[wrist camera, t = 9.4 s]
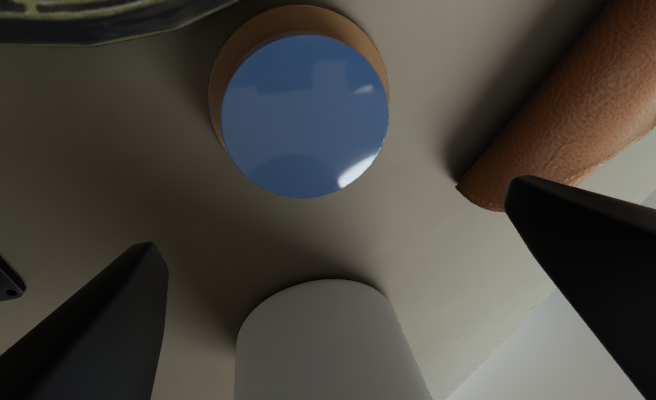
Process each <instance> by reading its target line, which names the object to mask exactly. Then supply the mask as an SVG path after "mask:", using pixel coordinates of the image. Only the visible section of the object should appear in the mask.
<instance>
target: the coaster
mask: <svg viewBox="0 0 656 400" xmlns="http://www.w3.org/2000/svg"><path fill="white" fill-rule="evenodd" d="M293 30H311V31H318V32H322V33H326V34H329V35H331V36H334V37H336V38H338V39H340V40H342V41H343V42H345V43H346V44H348V45H350V46H351V47H353V48H354V49H356V50H357V51H358V52H359V53H361V54H362V55H363V56H364V57H365V58H366V59H367V60H368V61H369V62H370V63H371V65H372V66H373V67H374V69H375V70H376V72H377V73H378V75H379V77H380V79H381V81H382V83H383V85H384V89H385V92H386V95H387V101H388V103H389V85H388V79H387V73H386V70H385V67H384V63H383V61H382V59H381V56H380V54H379V52H378V50H377V49H376V47H375V46H374V44H373V42H372V41H371V40H370V39H369V37H368V36H367V35H366V34H365V33H364V32H363V31H362V30H361V29H360V28H359V27H358V26H357V25H356V24H354V23H353V22H352V21H350V20H349V19H347V18H346V17H344V16H342V15H340V14H338V13H336V12H334V11H331V10H329V9H325V8H322V7H318V6H312V5H305V4H295V5H285V6H279V7H275V8H272V9H269V10H266V11H263V12H261V13H259V14H258V15H256V16H254V17H252V18H250V19H249V20H248V21H246V22H245V23H243V24H242V25H241V26H240V27H239V28H238V29H237V30H236V31H235V32H234V33H233V34H232V35H231V36H230V37H229V38H228V40H227V41H226V42H225V44H224V45H223V47H222V48H221V50H220V52H219V54H218V56H217V58H216V60H215V63H214V65H213V68H212V71H211V75H210V80H209V85H208V106H209V113H210V118H211V122H212V125H213V128H214V130H215V133H216V135H217V137H218V139H219V141H220V143H221V145H222V146H223V147H224V149H225V150H226V152H227V149H226V146H225V144H224V141H223V137H222V132H221V122H220V115H221V105H222V101H223V96H224V92H225V89H226V85H227V83H228V80H229V77H230V75H231V73H232V72H233V70H234V68H235V66H236V65H237V64H238V62H239V61H240V60H241V58H242V57H243V56H244V55H245V54H246V53H247V52H248V51H249V50H250V49H251V48H253V47H254V46H255V45H257V44H258V43H260V42H261V41H263V40H265V39H267V38H269V37H271V36H274V35H276V34H279V33H282V32H288V31H293ZM227 153H228V152H227ZM228 154H229V153H228Z"/></svg>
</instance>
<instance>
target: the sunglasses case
mask: <svg viewBox="0 0 656 400" xmlns="http://www.w3.org/2000/svg"><path fill="white" fill-rule="evenodd" d="M655 126H656V0H609V1H608V3H607V4H606V5H605V6H604V7H603V8H602V10H601V11H600V12H599V13H598V15H597V16H596V17H595V18H594V20H593V21H592V22H591V23H590V24H589V26H588V27H587V28H586V29H585V30H584V31H583V33H582V34H581V35H580V36H579V37H578V39H577V40H576V41H575V42H574V43H573V45H572V46H571V47H570V48H569V50H568V51H567V52H566V53H565V55H564V56H563V57H562V59H561V60H560V61H559V62H558V64H557V65H556V66H555V68H554V69H553V70H552V71H551V73H550V74H549V75H548V77H547V78H546V79H545V80H544V82H543V83H542V84H541V85H540V86H539V87H538V88H537V89H536V90H535V91H534V93H533V94H532V95H531V96H530V97H529V98H528V100H527V101H526V102H525V103H524V104H523V106H522V107H521V108H520V109H519V110H518V112H517V113H516V114H515V115H514V117H513V118H512V119H511V120H510V122H509V123H508V124H507V125H506V126H505V128H504V129H503V130H502V131H501V133H500V134H499V135H498V136H497V137H496V139H495V140H494V141H493V142H492V143H491V144H490V145H489V147H488V148H487V149H486V150H485V151H484V152H483V154H482V155H481V156H480V157H479V158H478V160H477V161H476V162H475V163H474V165H473V166H472V167H471V168H470V169H469V170H468V171H467V173H466V174H465V175H464V176H463V177H462V179H461V180H460V182H459V183H458V185H456V186H455V188H456V189H457V190H458V191H459V192H460V193H461V194H462V195H463V196H464V197H466V198H467V199H468V200H469V201H470V202H472V203H473V204H476V205H478V206H479V207H481V208H484V209H487V210H491V211H497V212H505V210H504V200H505V197H506V193H507V190H508V187H509V183H510V181H511V180H512V179H513V178H514V177H518V176H524V175H532V176H536V177H539V178H543V179H547V180H550V181H554V182H558V183H561V184H565V185H569V186H572V187H575V186H576V185H578V184H579V183H580V182H581V181H582V180H583V179H585V178H586V177H587V176H588V175H590V174H591V173H592V172H593V171H594V170H595V169H597V168H598V167H599V166H600V165H602V164H604V163H605V162H606V161H609V160H610V159H611V158H613V157H614V156H616V155H617V154H619V153H620V152H622V151H623V150H624V149H625V148H627V147H628V146H630V145H631V144H632V143H634V142H635V141H638V140H640V139H641V138H642V137H644V136H645V135H646V134H648V133H649V132H650V131H651V130H652V129H653V128H654V127H655Z"/></svg>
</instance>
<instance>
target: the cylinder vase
mask: <svg viewBox="0 0 656 400" xmlns="http://www.w3.org/2000/svg"><path fill="white" fill-rule="evenodd" d="M234 400H432V398H431V395H430V393H429V391H428V388H427V386H426V384H425V381H424V379H423V377H422V374H421V372H420V370H419V367H418V365H417V363H416V360H415V358H414V356H413V354H412V351H411V349H410V347H409V344H408V342H407V340H406V337H405V335H404V333H403V330H402V328H401V326H400V323H399V321H398V319H397V316H396V314H395V312H394V309H393V307H392V305H391V304H390V302H389V301H388V300H387V299H386V297H385V296H384V295H382V294H381V293H380V292H379V291H377V290H376V289H374V288H372V287H370V286H368V285H365V284H363V283H359V282H355V281H350V280H342V279H325V280H316V281H310V282H306V283H302V284H298V285H295V286H292V287H289V288H287V289H285V290H282V291H280V292H278V293H276V294H274V295H273V296H271V297H269V298H268V299H266V300H265V301H263V302H262V303H261V304H260V305H258V306H257V307H256V308H255V309H254V310H253V311H252V312H251V313H250V314H249V316H248V317H247V318H246V320H245V321H244V323H243V324H242V326H241V328H240V331H239V333H238V337H237V342H236V361H235V382H234Z"/></svg>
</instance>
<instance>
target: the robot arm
mask: <svg viewBox="0 0 656 400" xmlns="http://www.w3.org/2000/svg"><path fill="white" fill-rule="evenodd" d="M504 210H505V212H506V214H507V215H508V217H509V219H510V220H511V222H512V223H513V225H514V227H515V228H516V230H517V231H518V233H519V234H520V236H521V238H522V239H523V241H524V242H525V244H526V245H527V247H528V249H529V250H530V252H531V253H532V255H533V256H534V258H535V259H536V260H537V262H538V263H539V264H540V266H541V267H542V268H543V270H544V271H545V272H546V273H547V275H548V276H549V277H550V279H551V280H552V281H553V282H554V284H555V285H556V286H557V287H558V289H559V290H560V291H561V293H562V294H563V295H564V296H565V298H566V299H567V300H568V301H569V303H570V304H571V305H572V307H573V308H574V309H575V310H576V311H577V313H578V314H579V315H580V317H581V318H582V319H583V321H584V322H585V323H586V324H587V326H588V327H589V328H590V329H591V331H592V332H593V333H594V335H595V336H596V337H597V338H598V340H599V341H600V342H601V343H602V345H603V346H604V347H605V349H606V350H607V351H608V352H609V354H610V355H611V356H612V357H613V359H614V360H615V361H616V363H617V364H618V365H619V366H620V368H621V369H622V370H623V371H624V373H625V374H626V375H627V376H628V378H629V379H630V380H631V382H632V383H633V384H634V386H635V387H636V388H637V389H638V390H639V392H640V393H641V394H642V396H643V397H644V398H645V400H656V209H652V208H649V207H645V206H642V205H638V204H634V203H631V202H627V201H623V200H620V199H616V198H612V197H609V196H605V195H601V194H598V193H594V192H590V191H587V190H583V189H579V188H576V187H572V186H569V185H565V184H561V183H558V182H554V181H550V180H547V179H543V178H539V177H536V176H532V175H524V176H518V177H514V178H513V179H512V180H511V181H510V183H509V187H508V190H507V193H506V197H505V200H504ZM168 280H169V271H168V267H167V264H166V262H165V261H164V259H163V257H162V255H161V253H160V251H159V249H158V247H157V245H156V244H155V243H154V242H144V243H139V244H134V245H132V246H131V247H130V248H129V249H127V250H126V251H125V252H124V253H123V254H122V255H120V256H119V257H118V258H117V259H116V260H114V261H113V262H112V263H111V264H110V265H108V266H107V267H106V268H105V269H104V270H102V271H101V272H100V273H99V274H98V275H96V276H95V277H94V278H93V279H92V280H90V281H89V282H88V283H87V284H86V285H85V286H83V287H82V288H81V289H80V290H79V291H77V292H76V293H75V294H74V295H73V296H71V297H70V298H69V299H68V300H67V301H65V302H64V303H63V304H62V305H61V306H59V307H58V308H57V309H56V310H55V311H53V312H52V313H51V314H50V315H49V316H48V317H46V318H45V319H44V320H43V321H42V322H40V323H39V324H38V325H37V326H36V327H34V328H33V329H32V330H31V331H30V332H28V333H27V334H26V335H25V336H24V337H22V338H21V339H20V340H19V341H18V342H16V343H15V344H14V345H13V346H12V347H11V348H9V349H8V350H7V351H6V352H5V353H3V354H2V355H1V356H0V400H150V399H151V394H152V389H153V384H154V380H155V375H156V370H157V365H158V360H159V356H160V351H161V346H162V340H163V335H164V326H165V315H166V303H167V292H168ZM26 288H27V287H26V286H25V284H24V283H23V282H22V281H21V280H20V279H19V278H18V277H17V276H16V275H15V274H14V272H13V271H12V270H11V269H10V268H9V267H8V266H7V265H6V264H5V263H4V262H3V261H2V260H1V259H0V301H5V300H10V299H15V298H19V297H21V296H22V295H23V293H24V292H25V291H26Z"/></svg>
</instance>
